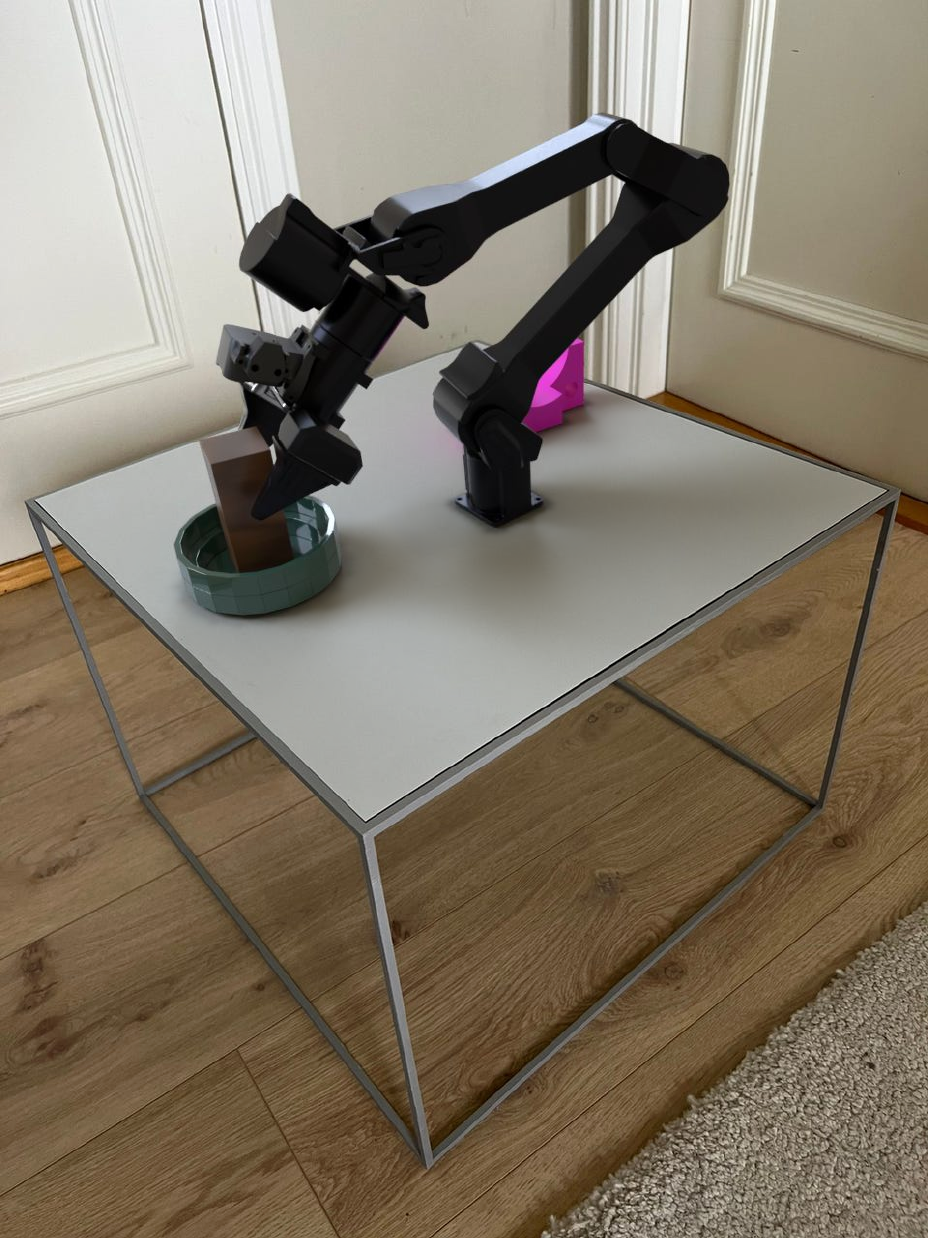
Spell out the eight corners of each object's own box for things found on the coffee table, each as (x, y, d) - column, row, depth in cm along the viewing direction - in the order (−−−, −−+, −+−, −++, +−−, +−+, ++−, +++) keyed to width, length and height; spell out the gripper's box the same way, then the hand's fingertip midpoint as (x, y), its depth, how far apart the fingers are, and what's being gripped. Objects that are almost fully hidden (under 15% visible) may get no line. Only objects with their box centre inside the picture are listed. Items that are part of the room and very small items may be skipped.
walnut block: (283, 547, 89) (256, 425, 81) (297, 573, 85) (270, 449, 78) (231, 561, 88) (198, 439, 80) (243, 589, 84) (210, 464, 76)
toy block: (483, 449, 103) (479, 384, 98) (455, 428, 107) (450, 365, 102) (596, 411, 108) (597, 348, 103) (565, 393, 112) (564, 331, 108)
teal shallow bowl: (371, 573, 85) (365, 531, 83) (230, 641, 79) (218, 598, 76) (293, 514, 95) (285, 474, 92) (161, 570, 88) (148, 529, 85)
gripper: (236, 255, 80) (142, 407, 83) (295, 323, 66) (178, 502, 70) (339, 326, 87) (248, 464, 90) (412, 401, 73) (300, 560, 77)
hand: (243, 493), depth 82 cm, fingers open, 9 cm apart
